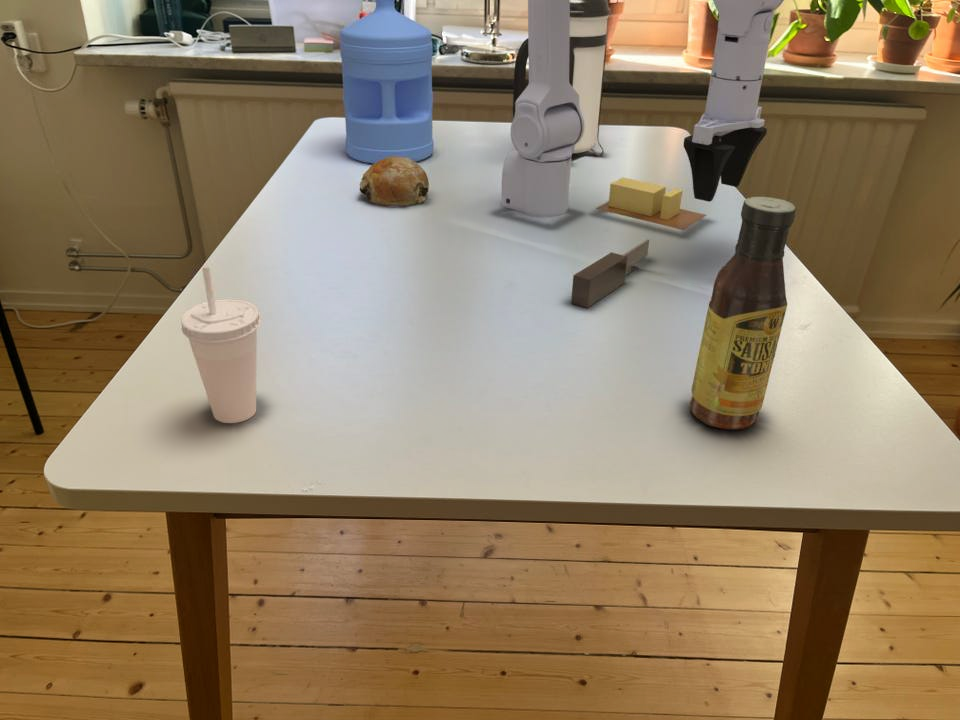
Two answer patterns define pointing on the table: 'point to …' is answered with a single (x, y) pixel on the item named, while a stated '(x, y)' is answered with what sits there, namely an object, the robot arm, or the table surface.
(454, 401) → the table surface
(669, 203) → the butter slice
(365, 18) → the water jug
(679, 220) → the cutting board
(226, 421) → the smoothie
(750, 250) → the sauce bottle
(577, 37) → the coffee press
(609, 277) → the knife
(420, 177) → the bread roll
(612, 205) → the butter block
